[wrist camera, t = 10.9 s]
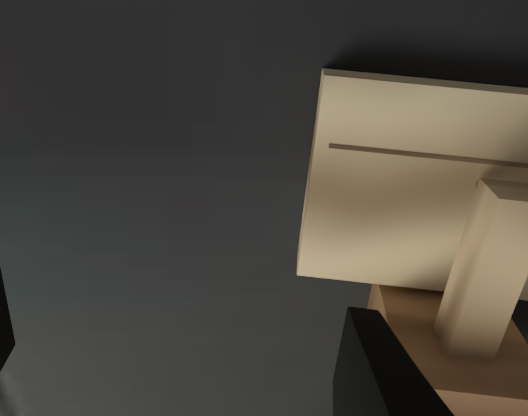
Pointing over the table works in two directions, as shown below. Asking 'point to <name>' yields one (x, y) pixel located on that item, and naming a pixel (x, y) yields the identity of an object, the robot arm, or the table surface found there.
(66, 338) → the table surface
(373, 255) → the board
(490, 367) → the gauge
